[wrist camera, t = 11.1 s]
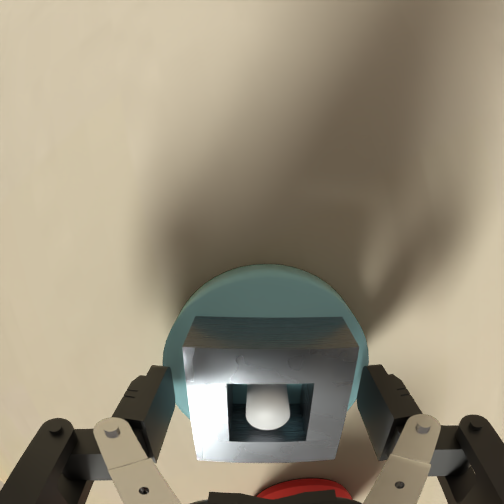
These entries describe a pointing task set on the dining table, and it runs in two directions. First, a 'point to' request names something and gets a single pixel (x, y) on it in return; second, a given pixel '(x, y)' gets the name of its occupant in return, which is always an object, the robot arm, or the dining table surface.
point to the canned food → (303, 488)
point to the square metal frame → (268, 372)
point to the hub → (269, 306)
